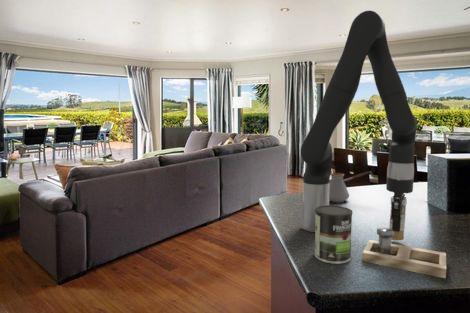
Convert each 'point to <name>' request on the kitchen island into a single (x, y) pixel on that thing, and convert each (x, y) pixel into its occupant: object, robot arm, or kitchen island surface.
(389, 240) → the grey metal bolt
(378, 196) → the kitchen island surface
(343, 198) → the coffee pot
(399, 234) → the sprinkles bottle
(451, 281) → the kitchen island surface
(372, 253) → the bolt-hole plate
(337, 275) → the kitchen island surface
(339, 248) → the coffee can
